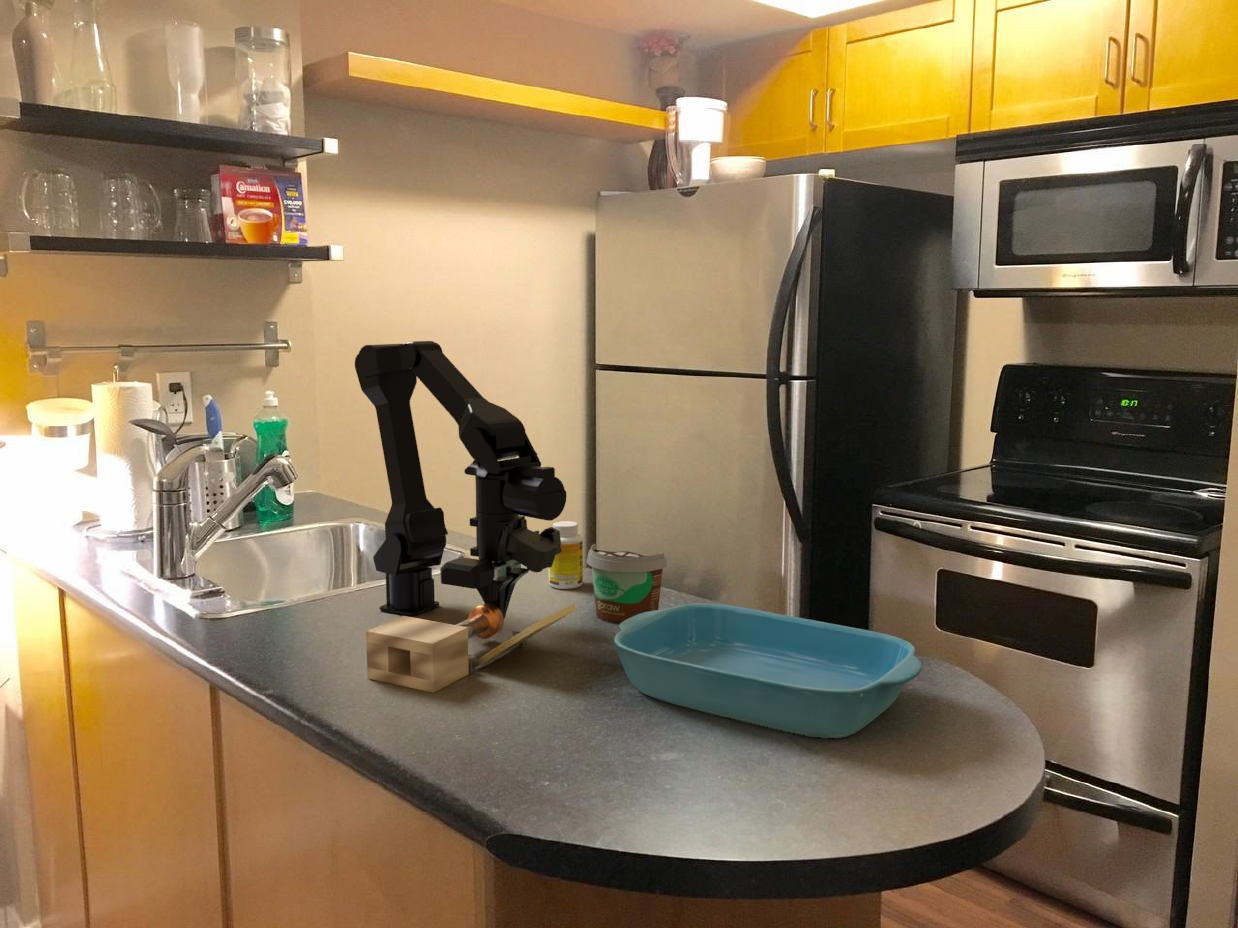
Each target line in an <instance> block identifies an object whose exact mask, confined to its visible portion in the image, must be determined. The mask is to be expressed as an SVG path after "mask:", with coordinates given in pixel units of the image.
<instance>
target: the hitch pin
mask: <svg viewBox="0 0 1238 928" xmlns="http://www.w3.org/2000/svg"><path fill="white" fill-rule="evenodd" d="M504 621H505V619H504V618H503V615H502V612H501V611H500V609H499V608H498V607H497V606H495V605H494V604H491V603H483V604H480V605H478V606H475V607H474V608H472V610H471V611H470V612H469V614H468V617H467V619H465V620H463V621H461V622H459V623H456V624H455V625H458V626H463V627H468V640H470V639H472V638H475V637H476V638H478V639H481V640H487V639H489V638H492V637H493V636H496V635H498V634H499V633H500V632H501V631H502V630H503V627H504V624H505V622H504Z"/></svg>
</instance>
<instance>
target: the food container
mask: <svg viewBox="0 0 1238 928" xmlns="http://www.w3.org/2000/svg"><path fill="white" fill-rule="evenodd" d="M586 563H587V565H588V566H589V567H591V572H592V585H593V593H594V606H595V615H596V618H597V619H599V620H601V621H602V622H606V623H609V624H615V625H620V623H621V622H623V621H625V620H627V619H629V618H631V617H633V616H635V615H638V614H641V613H644V612H649V611H655V610H659V608H660V607H659V606H660V595H661V587H662V580H663V579H662V578H663V569H664V568H667V567H668V564H667V558H666V556H665V553H664V551H663V552H661V553H657V554H654V555H647V556H646V555H642V554H638V553H636V552H632V551H626V550H625V551H607V550H599V549H597V546H596V543H594V544H592V545H591V546H590V549H589V550H588V554H587V558H586Z"/></svg>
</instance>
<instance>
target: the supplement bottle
mask: <svg viewBox="0 0 1238 928" xmlns="http://www.w3.org/2000/svg"><path fill="white" fill-rule="evenodd" d="M578 524H579V523H578V522H575V521H572V520H571V521H570V520H565V521H563V520H562V521H556V522H554V523H553V524H552V527H553V528H555V529H557V530H559V531H560V539H561V546H560V547H561V549H562V552H561V553H559V554H557V555H555V558H554V561H553V564H552V567H550V568H548V567H547V570H548V571H547V573H548V574H547V575H548V577H547V578H548V585H549V586H550V587H551V588H553V589H558V590H571V589H577V588H579V587H581V586H582V585H583V582H584V581H583V580H584V579H583V577H584V573H583V571H584V569H583V568H584V564H583V563H584V561H583V558H584V545H583V543H584V541H583V538H584V537H583V536H582V535H581V534H579V527H578Z"/></svg>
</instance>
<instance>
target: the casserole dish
mask: <svg viewBox="0 0 1238 928" xmlns="http://www.w3.org/2000/svg"><path fill="white" fill-rule="evenodd" d="M618 628H619V631H618V633H616V634H615V636H614V638H613V641H614V645H615V648H616V650H617V652H618V656H619V660H620V662H621V665H622V668H623V670H624V672H625V673H626V677H627V678H628V680H629V681H630V683H631V684H632V685H633V686H634V687H635V688H636V689H637V690H638V691H640V692H641V693H643V694H644V695H646V696H648V697H650V698H653V699H656V700H659V701H663V702H665V703H669V704H672V705H676V706H678V707H679V706H680V707H683V708H687V709H691V710H694V711H699V712H703V713H705V714H711V715H715V716H719V717H722V718H729V719H730V718H731V720H734V719H735V721H738V720H739V721H738V722H743V723H746V722H747V724H750V723H752V724H751V725H754V724H756V726H759V725H760V727H763V726H764V727H763V728H767V727H768V729H772V728H773V729H772V730H776V729H777V731H780V730H782V731H781V732H784V733H789V732H790V734H793V733H795V735H798V734H799V735H800V736H803V735H805V736H804V737H810V738H817V737H821V738H820V739H828V738H835V739H841V738H842V737H843V738H845V737H850V736H852V735H854V734H855V733H857V732H859V731H861V730H862V729H863V728H865V727H866V726H868V725H869V724H870V723H872V722H873V721H875V719H876V718H877V717H879V716H880V715H882V714H883V713H884V712H885V711H886V710H887V709H889V707H890V706H892V704H893V703H894V702H895V701H896V700H897V699H898V697H899V696H900V694H901V692H902V689H903V687H904V685H905V684H906V683H909V682H910V681H911V680H913V679H915V678H916V677H918V675H919V674H920V673H921V671H922V670H923V664H922V661H920V659H919V658H918V657H917V656H916V647H915V646H914V645H913V644H912V643H910V642H909V641H907V640H905V639H902V638H900V637H897V636H894V635H891V634H887V633H882V632H877V631H873V630H868V629H863V628H858V627H857V628H856V627H851V626H847V625H842V624H835V623H831V622H830V623H829V622H826V621H825V622H824V621H819V620H814V619H808V618H804V617H797V616H792V615H786V614H782V613H777V612H770V611H766V610H765V611H764V610H759V609H754V608H747V607H742V606H737V605H730V604H729V605H728V604H722V603H719V604H718V603H709V602H708V603H703V602H700V603H699V602H697V603H686V604H680V605H677V606H672V607H669V608H664V609H658V610H655V611H649V612H644V613H641V614H638V615H635V616H633V617H631V618H629V619H627V620H625V621H623V622H621V623H620V624H618Z"/></svg>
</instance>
